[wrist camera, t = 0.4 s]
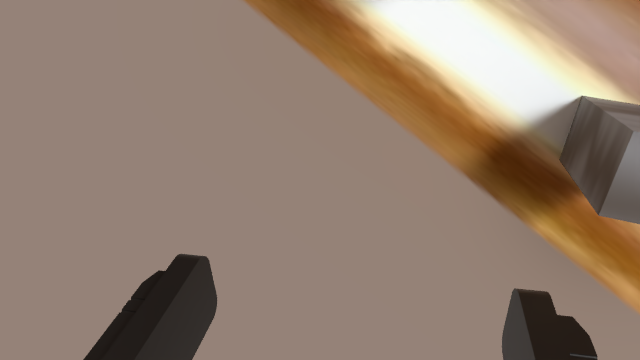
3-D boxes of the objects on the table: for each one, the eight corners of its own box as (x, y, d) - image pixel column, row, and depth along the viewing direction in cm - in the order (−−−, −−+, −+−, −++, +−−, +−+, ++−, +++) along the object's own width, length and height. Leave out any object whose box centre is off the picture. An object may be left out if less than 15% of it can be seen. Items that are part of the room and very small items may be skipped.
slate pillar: (582, 95, 32) (633, 131, 23) (658, 108, 31) (743, 150, 22) (559, 160, 34) (598, 215, 25) (630, 173, 33) (697, 236, 24)
